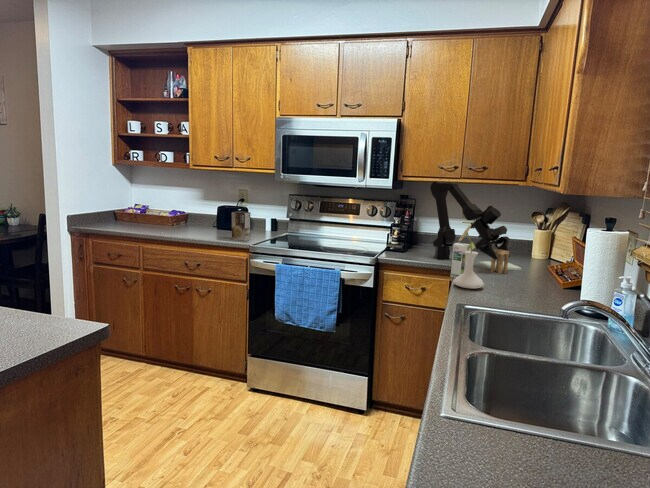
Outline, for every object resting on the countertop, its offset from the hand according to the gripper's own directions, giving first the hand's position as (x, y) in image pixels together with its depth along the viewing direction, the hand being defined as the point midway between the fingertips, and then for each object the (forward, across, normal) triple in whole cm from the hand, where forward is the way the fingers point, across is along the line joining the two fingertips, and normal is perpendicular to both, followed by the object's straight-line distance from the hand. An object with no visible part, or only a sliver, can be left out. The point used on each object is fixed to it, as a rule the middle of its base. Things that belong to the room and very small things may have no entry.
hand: (502, 258), depth 205 cm
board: (-2, +12, +11) cm, 16 cm away
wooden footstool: (+4, 0, +6) cm, 7 cm away
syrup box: (+3, -25, +7) cm, 26 cm away
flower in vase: (+12, -36, -2) cm, 38 cm away
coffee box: (-83, -70, +92) cm, 142 cm away
